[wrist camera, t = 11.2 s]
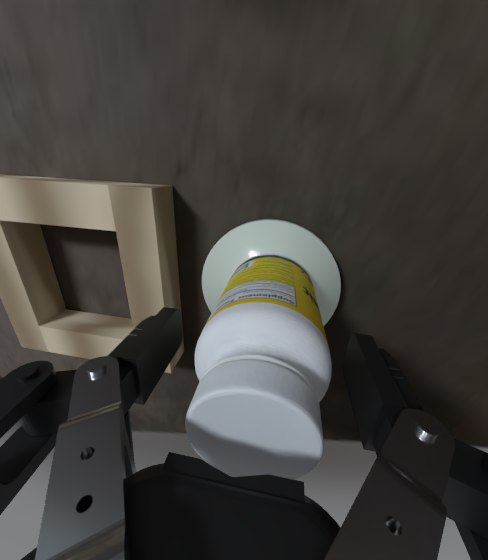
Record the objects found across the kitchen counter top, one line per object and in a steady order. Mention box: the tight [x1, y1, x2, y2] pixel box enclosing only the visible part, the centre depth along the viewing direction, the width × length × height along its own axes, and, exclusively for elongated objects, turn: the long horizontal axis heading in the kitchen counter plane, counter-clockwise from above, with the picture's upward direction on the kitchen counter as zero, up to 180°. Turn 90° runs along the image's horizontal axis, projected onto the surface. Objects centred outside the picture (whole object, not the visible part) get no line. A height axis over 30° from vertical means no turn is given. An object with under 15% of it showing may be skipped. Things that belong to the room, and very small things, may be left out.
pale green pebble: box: [202, 219, 341, 326], centre depth 16 cm, size 9×9×1 cm
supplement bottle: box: [185, 253, 332, 480], centre depth 11 cm, size 5×5×10 cm
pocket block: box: [0, 174, 184, 373], centre depth 17 cm, size 13×13×2 cm
